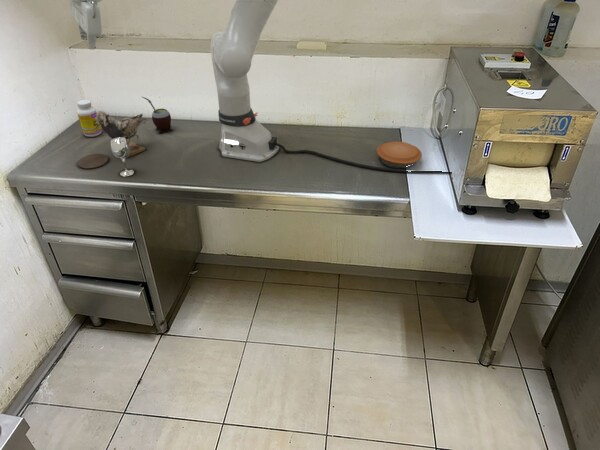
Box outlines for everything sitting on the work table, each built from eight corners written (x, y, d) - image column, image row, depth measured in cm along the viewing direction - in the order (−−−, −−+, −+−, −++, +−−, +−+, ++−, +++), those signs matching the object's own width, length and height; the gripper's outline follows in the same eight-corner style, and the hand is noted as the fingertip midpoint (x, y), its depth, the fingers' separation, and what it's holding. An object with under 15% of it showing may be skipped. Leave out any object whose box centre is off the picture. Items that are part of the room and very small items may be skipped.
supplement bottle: (98, 137, 168) (88, 105, 160) (81, 137, 168) (70, 105, 160) (104, 130, 173) (95, 98, 166) (88, 130, 174) (78, 98, 166)
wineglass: (130, 178, 144) (121, 145, 137) (114, 176, 145) (105, 143, 138) (139, 169, 149) (130, 137, 142) (123, 167, 150) (114, 135, 142)
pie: (368, 153, 159) (370, 141, 156) (408, 148, 162) (410, 136, 159) (385, 174, 147) (387, 161, 144) (427, 169, 150) (430, 156, 147)
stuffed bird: (99, 161, 153) (85, 114, 143) (134, 137, 168) (123, 93, 158) (123, 166, 151) (110, 119, 140) (156, 141, 166) (147, 97, 155)
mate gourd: (176, 127, 176) (169, 90, 167) (166, 135, 170) (159, 98, 160) (159, 125, 177) (151, 89, 168) (149, 133, 171) (141, 96, 162)
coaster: (114, 159, 155) (114, 157, 154) (92, 171, 148) (91, 170, 147) (94, 152, 158) (94, 151, 158) (71, 165, 151) (71, 163, 151)
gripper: (106, 1, 115) (108, 55, 123) (88, -15, 128) (90, 34, 136) (80, -2, 112) (84, 54, 119) (64, -18, 125) (68, 33, 132)
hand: (87, 43), depth 128 cm, fingers open, 8 cm apart
